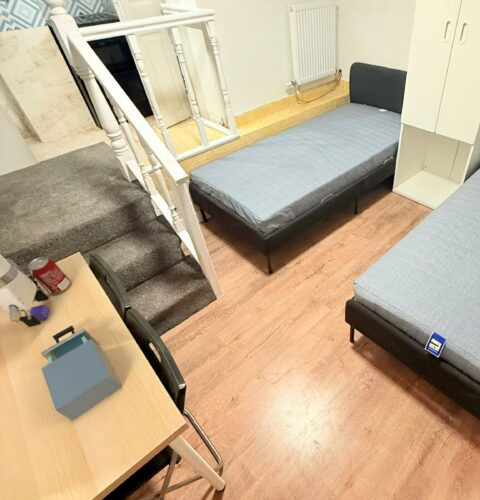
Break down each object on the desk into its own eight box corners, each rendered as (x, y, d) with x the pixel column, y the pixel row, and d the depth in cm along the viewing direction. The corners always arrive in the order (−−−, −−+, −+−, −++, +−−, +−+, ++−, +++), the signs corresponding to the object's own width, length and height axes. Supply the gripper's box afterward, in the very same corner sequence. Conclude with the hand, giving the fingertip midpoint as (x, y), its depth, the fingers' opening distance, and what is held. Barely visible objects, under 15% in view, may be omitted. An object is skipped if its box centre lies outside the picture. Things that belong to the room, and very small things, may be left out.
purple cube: (34, 322, 103) (27, 316, 101) (37, 312, 105) (31, 307, 103) (47, 318, 103) (41, 313, 101) (50, 309, 106) (44, 304, 104)
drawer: (50, 349, 95) (35, 337, 90) (89, 327, 100) (77, 314, 95) (69, 398, 85) (53, 387, 80) (111, 370, 90) (99, 358, 85)
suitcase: (61, 383, 89) (41, 368, 82) (107, 354, 94) (91, 338, 88) (77, 423, 81) (55, 410, 75) (125, 390, 87) (109, 375, 80)
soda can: (76, 283, 113) (55, 258, 105) (57, 297, 109) (34, 273, 101) (62, 277, 116) (41, 252, 107) (44, 291, 111) (20, 267, 103)
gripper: (-5, 258, 96) (33, 294, 108) (-29, 305, 84) (17, 339, 97) (24, 251, 98) (59, 287, 110) (4, 296, 86) (46, 331, 98)
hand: (39, 312), depth 103 cm, fingers open, 9 cm apart
